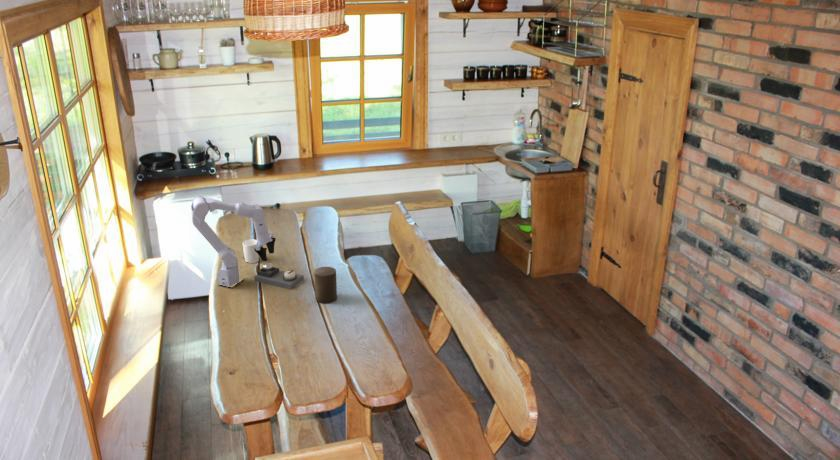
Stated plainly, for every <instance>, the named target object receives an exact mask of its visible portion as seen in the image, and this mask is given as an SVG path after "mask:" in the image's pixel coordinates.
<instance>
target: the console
mask: <svg viewBox="0 0 840 460" xmlns="http://www.w3.org/2000/svg"><path fill="white" fill-rule="evenodd" d="M256 272H257V273H256V275H255V276H254V282H256V283H261V284H265V285H269V286H274V287H278V288H282V289H287V290H292V289H294V288H295V287H296V286H298V285H300V284H301V283H302V282H303V281H304V280H305V275H304V274H298V273H295V278H293V279H285V278H284V273H285V272H286V271H285V270H281V269H280V268H279V267H275V266H273V269H272V270H269V271H265V270H263V267H262V268H260V269H258V270H257V271H256Z"/></svg>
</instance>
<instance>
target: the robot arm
mask: <svg viewBox="0 0 840 460" xmlns="http://www.w3.org/2000/svg"><path fill="white" fill-rule="evenodd" d="M190 207H191V208H190V209H191V221H192V224H193V226H194V227H195V228H196V229H197V231H198V232H199V233H200V234H201V235H202V236H203V238H205V240H206V241H207V242H208V243H209V244H210V246H212V248H213V249H214V250H215V252H217V254H218V256H219V257H220V258H221V260H222V263H221V268H220V269H219V271H218V272H217V278H218V280H217V281H218V283H219V285H223V286H228V287H230V286H232V285H233V284H235V283H238V282H239V278H240V272H239V262H238V261H239V260H238V257H237V256H236V252H235V250H234V249H233V248H231V247H229V246H228V245H227V244H226V243H224V241H222V239H221V238H220V237H219V236H218V234H217V233H216V232H215V231H214V230H213V229H212V227H210V225H209V224H208V222H206V221H205V219H206V217H207V215H208V213H209V212H210V213H213V212H214V211H215V210H220V211H226V212H232V213H234V214H235V215H236V216H237V217H239V216H240V217H243V218H244V217H245V218H249V219H252V221H253V227H254V231H255V235H256V240H257V244H256V246H255V249H254V250H255V252H257V253H258V255H259V259H261V261H262V262H267V261H268V257H267V256H268V255H267V251H268V253H269V254H274V253H275V244H276V243H275V242H276V237H274V233H273V232H269V228H268V224H267V221H266V213H265V211H264V209H263V207H262V206H261V205H258V204H252V205H251V204H247V203H245V202H244V201H243V202H242V201H241V202H237V203H229V202H225V201H222V200H218V199H214V198H213V197H207V196H206V197H204V196H201V195H199V196H195V197H194V198H193V200H192V202H191V206H190ZM264 245H265V246H266V247H263V246H264ZM219 285H218V286H219ZM223 286H222V287H223ZM228 287H227V288H228Z"/></svg>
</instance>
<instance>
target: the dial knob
mask: <svg viewBox="0 0 840 460" xmlns="http://www.w3.org/2000/svg"><path fill="white" fill-rule="evenodd" d="M295 274H296V272H295V271H294V269H293V270H287V271H286V272H285V273H284V278H285V279H293V278H295Z"/></svg>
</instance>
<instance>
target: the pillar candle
mask: <svg viewBox="0 0 840 460" xmlns="http://www.w3.org/2000/svg"><path fill="white" fill-rule="evenodd" d="M337 284H338V283H337V270H336V268H334V267H332V266H320V267H317V268H315V269H314V297H315V301H316V302H317V303H319V304H320V303H321V304H331V303H334V302H335V301H337V298H338V295H337V294H338V293H337V289H338V286H337Z"/></svg>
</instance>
